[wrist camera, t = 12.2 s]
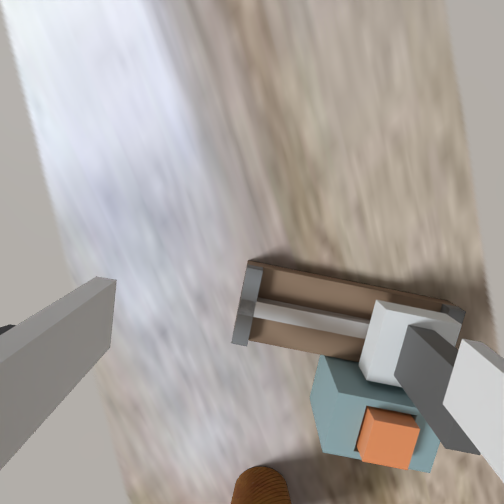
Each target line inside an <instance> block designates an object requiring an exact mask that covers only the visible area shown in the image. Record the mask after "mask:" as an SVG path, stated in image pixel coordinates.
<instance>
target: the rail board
mask: <svg viewBox="0 0 504 504" xmlns="http://www.w3.org/2000/svg"><path fill="white" fill-rule="evenodd" d="M376 300H381V301H386V302H391V303H396V304H400V305H405V306H410V307H415V308H420V309H425V310H430V311H435V312H440V313H445V314H447V315H449V316H450V317H451V318H453V319H454V320H456V321H457V322H459V323H460V324H462V322H463V319H464V316H465V313H466V311H464V310H462V309H461V308H459V307H457V306H456V305H454V304H453V303H451V302H449V301H447V300H442V299H437V298H432V297H427V296H422V295H417V294H412V293H407V292H402V291H397V290H392V289H387V288H382V287H377V286H372V285H368V284H363V283H358V282H353V281H348V280H343V279H338V278H333V277H328V276H323V275H318V274H313V273H308V272H303V271H298V270H293V269H288V268H283V267H278V266H274V265H269V264H264V263H259V262H254V261H249V260H248V263H247V268H246V272H245V277H244V282H243V287H242V292H241V297H240V302H239V307H238V312H237V316H236V321H235V326H234V331H233V337H232V344H238V345H243V346H247V344H248V340H250V341H255V342H260V343H265V344H270V345H275V346H280V347H285V348H290V349H295V350H300V351H305V352H310V353H315V354H320V355H325V356H330V357H335V358H340V359H345V360H350V361H356V362H359V361H360V357H361V354H362V350H363V346H364V342H365V339H366V335H367V331H368V328H369V324H370V320H371V317H372V313H373V309H374V305H375V302H376Z"/></svg>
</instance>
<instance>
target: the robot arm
mask: <svg viewBox="0 0 504 504" xmlns="http://www.w3.org/2000/svg"><path fill="white" fill-rule="evenodd" d="M116 281H117V280H114V279H108V278H102V277H95V278H93V279H92V280H90V281H88V282H87V283H85V284H83V285H82V286H80V287H79V288H77V289H75V290H74V291H72V292H70V293H69V294H67V295H65V296H64V297H62V298H60V299H59V300H57V301H56V302H54V303H52V304H51V305H49V306H47V307H46V308H44V309H42V310H41V311H39V312H38V313H36V314H34V315H33V316H31V317H29V318H28V319H26V320H24V321H23V322H21V323H19V324H18V325H7V326H4V327H0V470H1V469H2V468H3V467H4V466H5V464H6V463H7V462H8V461H9V460H10V459H11V458H12V457H13V456H14V454H15V453H16V452H17V451H18V450H19V449H20V448H21V447H22V445H23V444H24V443H25V442H26V441H27V440H28V439H29V438H30V436H31V435H32V434H33V433H34V432H35V431H36V430H37V428H39V426H40V425H41V424H42V423H43V422H44V421H45V419H47V417H48V416H49V415H50V414H51V413H52V412H53V411H54V410H55V408H56V407H57V406H58V405H59V404H60V403H61V402H62V401H63V400H64V398H65V397H66V396H67V395H68V394H69V393H70V392H71V390H72V389H73V388H74V387H75V386H76V385H77V384H78V383H79V382H80V380H81V379H82V378H83V377H84V376H85V375H86V374H87V373H88V371H89V370H90V369H91V368H92V367H93V366H94V365H95V364H96V363H97V361H98V360H99V359H100V358H101V357H102V356H103V355H104V354H105V352H106V351H107V350H108V349H109V348H110V342H111V332H112V322H113V312H114V302H115V291H116ZM443 405H444V406H445V408H446V409H447V410H448V411H449V413H450V414H451V415H452V417H453V418H454V419H455V421H456V422H457V423H458V424H459V426H460V427H461V428H462V430H463V431H464V432H465V433H466V435H467V436H468V437H469V439H470V440H471V441H472V443H473V444H474V445H475V446H476V448H477V449H478V450H479V452H480V453H481V454H482V455H483V457H484V458H485V459H486V461H487V462H488V463H489V465H490V466H491V467H492V468H493V470H494V471H495V472H496V474H497V475H498V476H499V477H500V479H501V480H502V481H503V483H504V359H503V358H502V357H501V356H500V355H498V354H497V353H496V352H494V351H493V350H492V349H490V348H489V347H488V346H487V345H485V344H484V343H483V342H479V341H473V340H467V339H462V341H461V344H460V347H459V351H458V354H457V357H456V361H455V364H454V367H453V371H452V374H451V377H450V381H449V384H448V388H447V391H446V394H445V398H444V401H443Z"/></svg>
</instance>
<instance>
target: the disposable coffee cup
mask: <svg viewBox="0 0 504 504" xmlns="http://www.w3.org/2000/svg"><path fill="white" fill-rule="evenodd" d="M231 504H291V500H290V496H289V492H288V489H287V484H286V481H285V479H284V478H283V477H282V475H281V474H280V473H278V472H277V471H275V470H273V469H271V468H268V467H253V468H251V469H248V470H246V471H245V472H243V473H242V474H241V475H240V476H239V478H238V479H237V481H236V484H235V488H234V493H233V497H232V501H231Z"/></svg>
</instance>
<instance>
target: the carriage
mask: <svg viewBox="0 0 504 504" xmlns="http://www.w3.org/2000/svg"><path fill="white" fill-rule="evenodd" d="M461 326H462V324H460V323H459V322H457V321H456V320H454V319H453V318H451V317H450V316H449V315H447V314H445V313H440V312H435V311H430V310H425V309H420V308H415V307H410V306H405V305H400V304H396V303H391V302H386V301H381V300H376V302H375V305H374V309H373V313H372V317H371V320H370V324H369V328H368V331H367V335H366V339H365V342H364V346H363V350H362V354H361V357H360V361H359V365H358V366H359V367H360V369H361V371H362V373H363V375H364V376H365V378H366V380H368V381H373V382H378V383H383V384H388V385H393V386H398V387H402V388H403V389H404V391H405V392H406V394H407V395H408V396H409V398H410V399H411V401H412V402H413V403H414V405H415V406H416V408H417V409H418V410H419V412H420V413H421V415H422V416H423V418H424V419H425V420H426V422H427V423H428V425H429V426H430V427H431V429H432V430H433V432H434V433H435V435H436V436H437V437H438V439H439V440H440V442H441V443H442V444H443V446H444V447H445V448H446V449H451V450H456V451H461V452H466V453H472V454H477V455H480V454H481V453H480V452H479V450H478V449H477V448H476V446H475V445H474V444H473V443H472V441H471V440H470V439H469V437H468V436H467V435H466V433H465V432H464V431H463V430H462V428H461V427H460V426H459V424H458V423H457V422H456V421H455V419H454V418H453V417H452V415H451V414H450V413H449V411H448V410H447V409H446V408H445V406H444V405H443V401H444V398H445V394H446V391H447V388H448V384H449V381H450V377H451V374H452V371H453V367H454V364H455V361H456V357H457V354H458V351H459V350H457V349H456V348H455V345H456V342H457V339H458V336H459V332H460V329H461Z"/></svg>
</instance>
